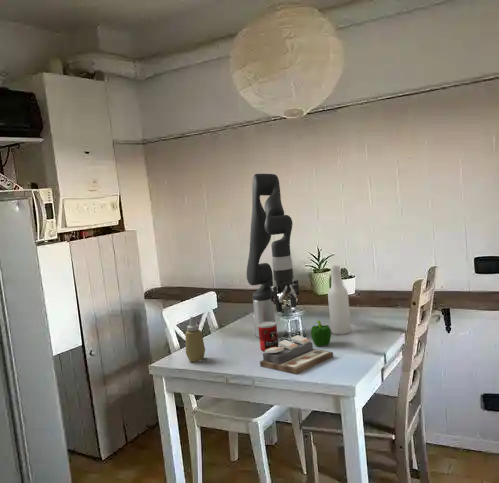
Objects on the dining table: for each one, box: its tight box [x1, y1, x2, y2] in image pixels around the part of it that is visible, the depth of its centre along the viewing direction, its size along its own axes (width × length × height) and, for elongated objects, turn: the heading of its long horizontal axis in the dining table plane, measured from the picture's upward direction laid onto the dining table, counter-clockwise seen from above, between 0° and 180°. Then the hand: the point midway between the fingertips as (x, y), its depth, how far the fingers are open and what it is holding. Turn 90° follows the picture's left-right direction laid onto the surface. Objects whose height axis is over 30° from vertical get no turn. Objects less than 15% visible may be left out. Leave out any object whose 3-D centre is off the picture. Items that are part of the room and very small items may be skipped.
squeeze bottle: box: [184, 316, 206, 363], centre depth 233 cm, size 8×8×18 cm
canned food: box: [258, 321, 279, 353], centre depth 238 cm, size 8×8×11 cm
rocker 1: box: [264, 346, 284, 354], centre depth 216 cm, size 6×4×2 cm, turn 45°
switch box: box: [259, 341, 334, 375], centre depth 218 cm, size 18×22×5 cm
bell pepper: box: [310, 320, 332, 347], centre depth 237 cm, size 8×8×10 cm
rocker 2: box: [278, 339, 298, 350], centre depth 221 cm, size 6×4×2 cm, turn 45°
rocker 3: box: [290, 334, 311, 345], centre depth 226 cm, size 6×4×2 cm, turn 45°
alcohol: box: [327, 264, 352, 336], centre depth 252 cm, size 9×9×30 cm
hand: (286, 309), depth 219 cm, fingers open, 7 cm apart
